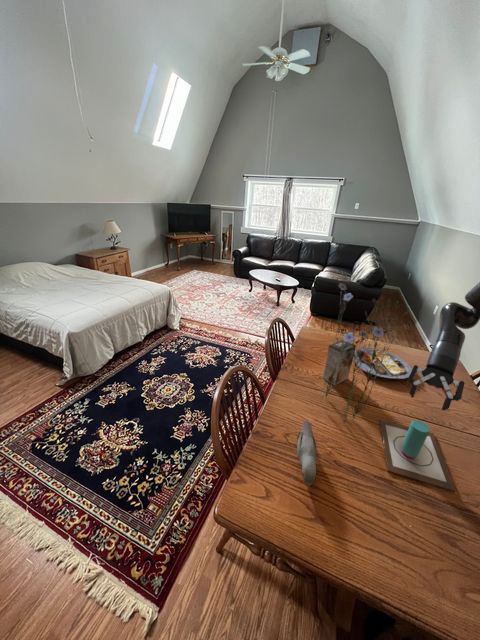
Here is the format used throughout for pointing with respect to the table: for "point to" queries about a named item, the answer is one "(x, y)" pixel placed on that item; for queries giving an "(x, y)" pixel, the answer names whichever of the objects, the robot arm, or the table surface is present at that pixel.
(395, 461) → the picture frame
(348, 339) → the wildflower
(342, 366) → the coffee box
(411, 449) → the cylinder
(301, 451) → the decorative bird
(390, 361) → the food plate
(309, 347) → the table surface
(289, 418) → the table surface
